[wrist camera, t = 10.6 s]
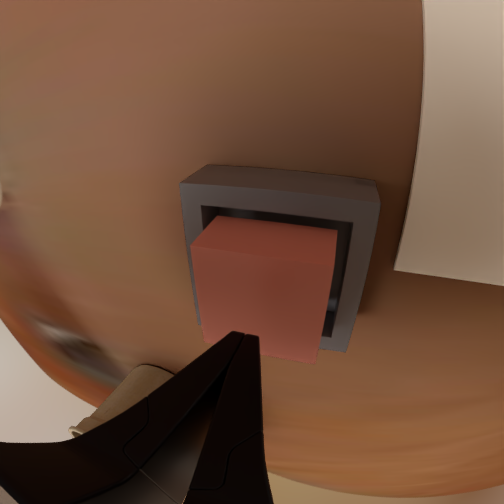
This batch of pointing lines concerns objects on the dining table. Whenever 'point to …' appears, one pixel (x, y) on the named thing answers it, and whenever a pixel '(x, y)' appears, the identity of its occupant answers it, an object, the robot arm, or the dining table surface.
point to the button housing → (294, 212)
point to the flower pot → (124, 396)
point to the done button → (265, 283)
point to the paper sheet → (459, 147)
